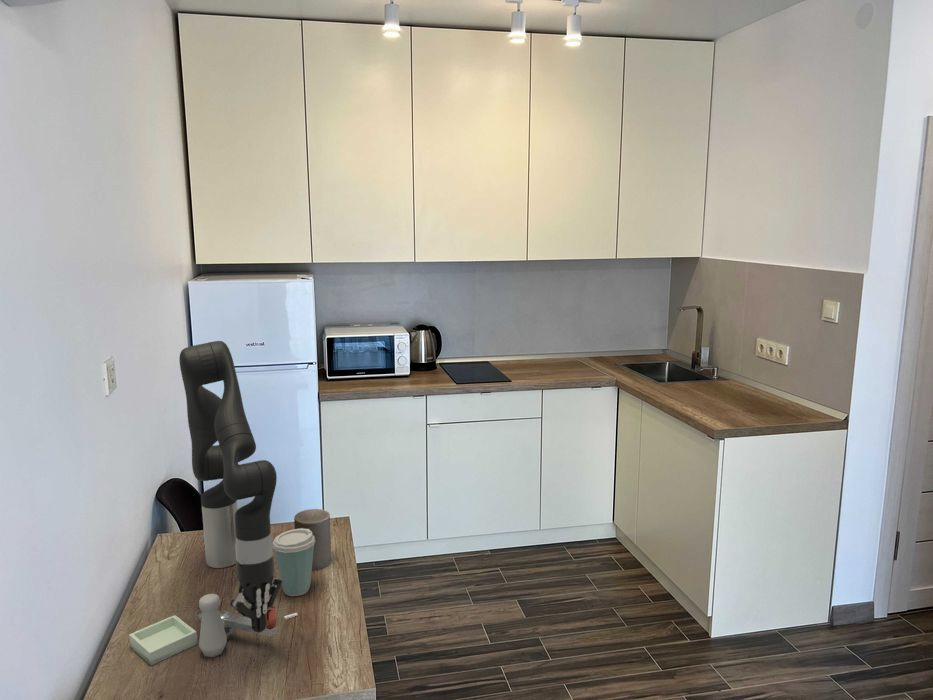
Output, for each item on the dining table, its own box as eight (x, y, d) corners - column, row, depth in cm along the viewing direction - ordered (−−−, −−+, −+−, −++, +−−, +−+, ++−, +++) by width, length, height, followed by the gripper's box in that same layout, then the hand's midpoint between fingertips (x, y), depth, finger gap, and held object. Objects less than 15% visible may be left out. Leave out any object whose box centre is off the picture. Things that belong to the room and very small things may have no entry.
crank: (197, 627, 159) (195, 599, 158) (208, 618, 162) (205, 591, 161) (271, 643, 152) (269, 614, 151) (281, 634, 156) (279, 605, 155)
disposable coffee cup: (276, 604, 173) (272, 547, 170) (273, 583, 183) (270, 529, 180) (320, 596, 176) (317, 540, 173) (315, 576, 186) (312, 523, 183)
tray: (130, 646, 156) (129, 634, 155) (175, 626, 163) (174, 615, 163) (151, 665, 149) (149, 652, 148) (197, 643, 157) (196, 631, 156)
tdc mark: (285, 619, 166) (285, 617, 166) (284, 618, 166) (284, 616, 166) (297, 616, 167) (297, 614, 167) (296, 614, 168) (296, 612, 168)
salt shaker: (218, 661, 150) (213, 605, 148) (194, 658, 151) (189, 602, 149) (232, 645, 156) (228, 591, 154) (209, 642, 157) (204, 589, 155)
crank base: (209, 637, 159) (209, 629, 159) (227, 628, 162) (226, 620, 162) (219, 644, 156) (218, 636, 156) (237, 636, 159) (236, 627, 159)
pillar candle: (289, 568, 191) (286, 516, 188) (306, 552, 200) (304, 502, 197) (322, 572, 188) (319, 520, 185) (338, 556, 197) (336, 506, 195)
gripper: (265, 539, 155) (269, 611, 158) (217, 563, 144) (222, 640, 147) (290, 546, 152) (294, 620, 154) (242, 571, 140) (247, 651, 143)
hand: (259, 630), depth 151 cm, fingers closed
